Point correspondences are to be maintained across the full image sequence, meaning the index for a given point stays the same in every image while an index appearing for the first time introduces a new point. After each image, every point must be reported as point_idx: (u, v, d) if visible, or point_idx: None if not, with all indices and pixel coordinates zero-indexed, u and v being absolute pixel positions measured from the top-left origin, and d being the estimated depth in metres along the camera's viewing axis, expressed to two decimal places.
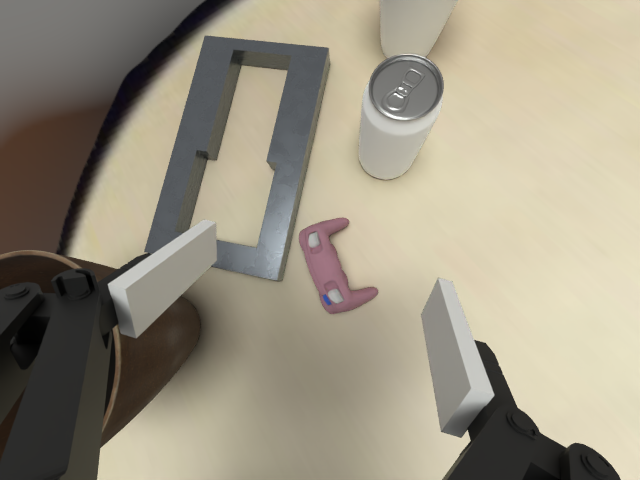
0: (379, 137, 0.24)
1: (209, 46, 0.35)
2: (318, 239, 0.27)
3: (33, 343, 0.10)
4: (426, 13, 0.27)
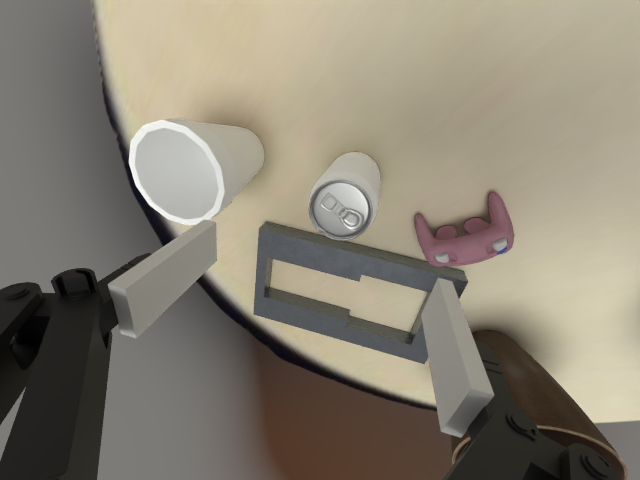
0: None
1: (262, 312, 0.45)
2: (442, 254, 0.31)
3: (33, 343, 0.10)
4: (244, 163, 0.29)
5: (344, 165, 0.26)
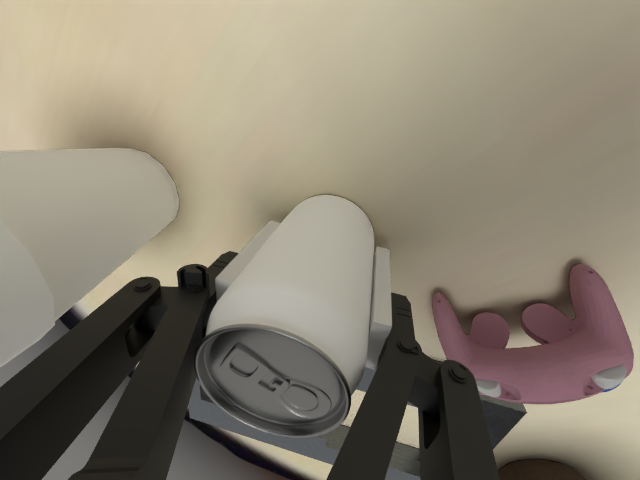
0: None
1: (201, 416, 0.30)
2: (490, 383, 0.16)
3: (153, 330, 0.11)
4: (93, 233, 0.14)
5: (289, 253, 0.11)
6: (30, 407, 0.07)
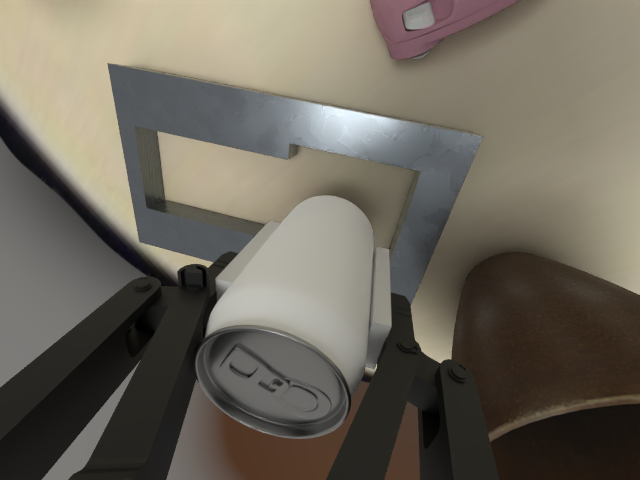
0: None
1: (150, 237, 0.28)
2: (421, 4, 0.14)
3: (153, 330, 0.11)
4: None
5: (289, 253, 0.11)
6: (30, 408, 0.07)
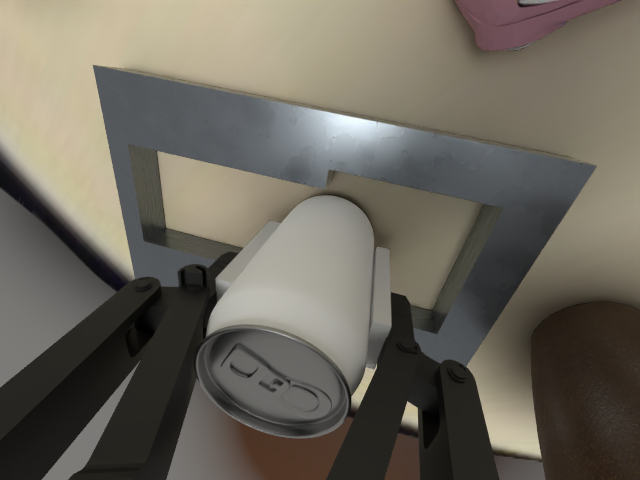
0: None
1: (148, 273, 0.23)
2: None
3: (153, 330, 0.11)
4: None
5: (289, 253, 0.11)
6: (31, 407, 0.07)
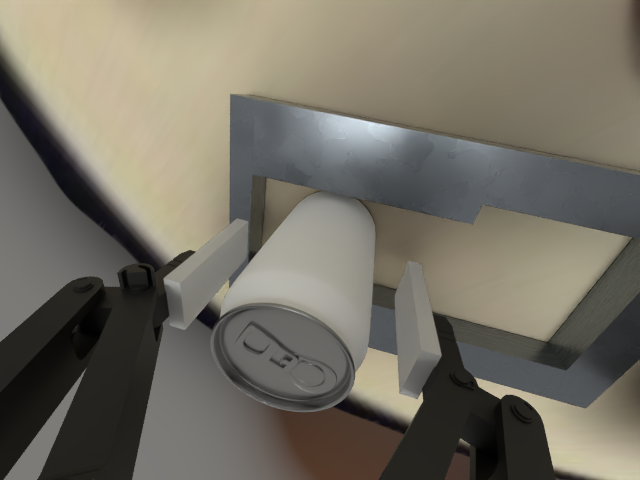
0: None
1: None
2: None
3: (96, 333, 0.11)
4: None
5: (297, 242, 0.12)
6: None
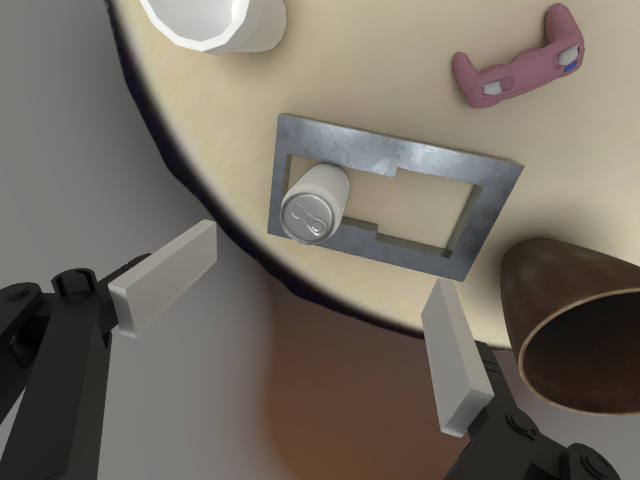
0: None
1: (277, 229, 0.39)
2: (494, 82, 0.25)
3: (33, 343, 0.10)
4: None
5: (312, 178, 0.29)
6: None
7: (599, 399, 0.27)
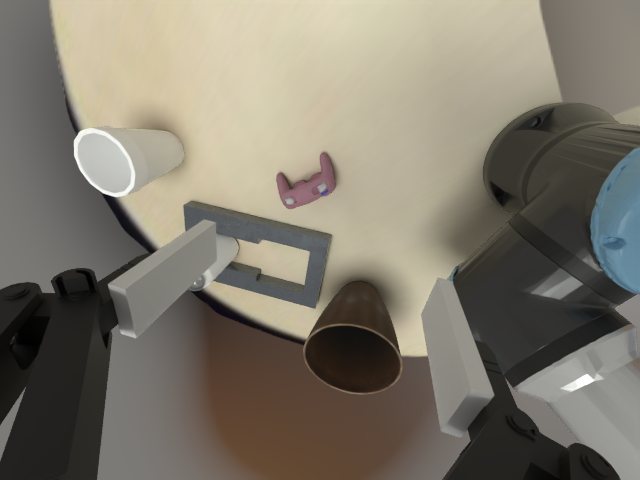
0: (214, 278, 0.49)
1: None
2: (288, 198, 0.44)
3: (34, 343, 0.10)
4: (156, 155, 0.42)
5: None
6: None
7: (362, 384, 0.46)
